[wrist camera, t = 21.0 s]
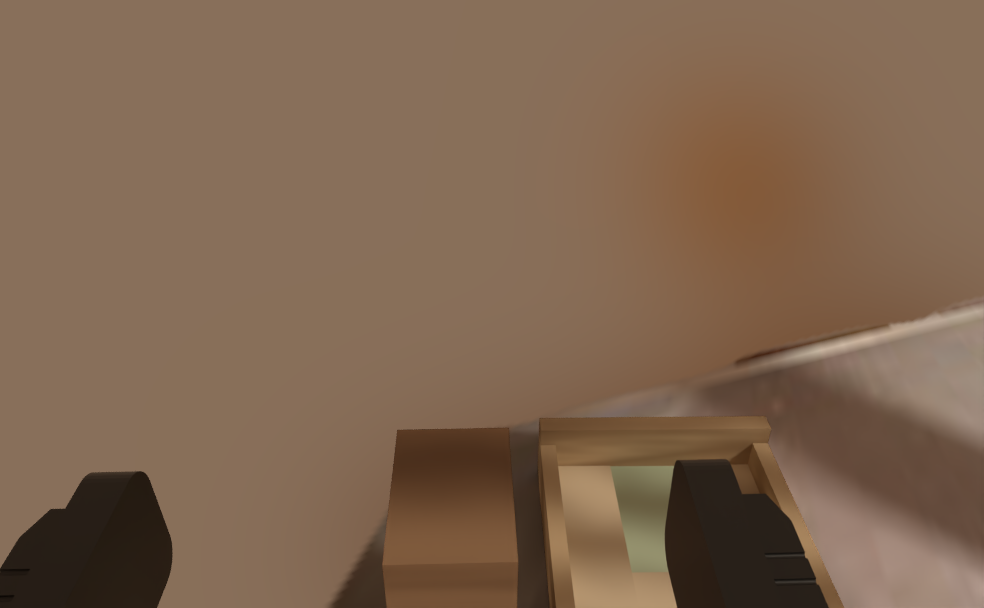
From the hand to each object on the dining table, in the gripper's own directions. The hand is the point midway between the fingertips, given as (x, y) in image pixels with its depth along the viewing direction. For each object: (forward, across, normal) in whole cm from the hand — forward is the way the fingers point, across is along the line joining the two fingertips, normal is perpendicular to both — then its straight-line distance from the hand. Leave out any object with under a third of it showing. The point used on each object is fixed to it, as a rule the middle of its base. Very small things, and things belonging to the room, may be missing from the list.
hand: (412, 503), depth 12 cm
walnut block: (+9, 0, +22) cm, 24 cm away
